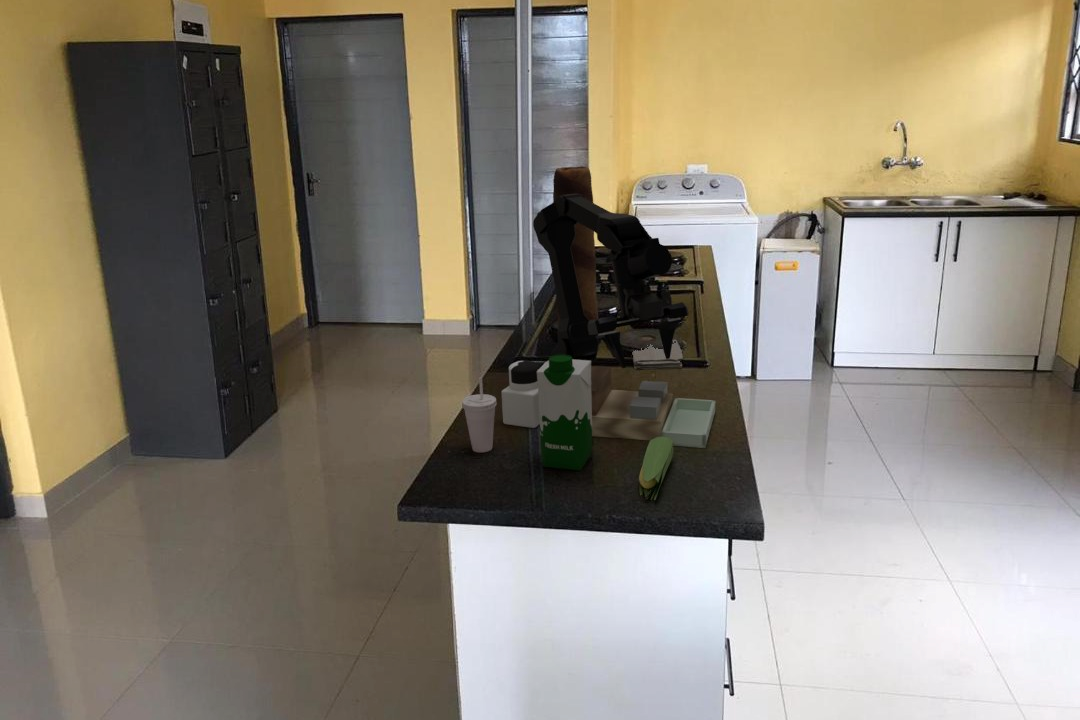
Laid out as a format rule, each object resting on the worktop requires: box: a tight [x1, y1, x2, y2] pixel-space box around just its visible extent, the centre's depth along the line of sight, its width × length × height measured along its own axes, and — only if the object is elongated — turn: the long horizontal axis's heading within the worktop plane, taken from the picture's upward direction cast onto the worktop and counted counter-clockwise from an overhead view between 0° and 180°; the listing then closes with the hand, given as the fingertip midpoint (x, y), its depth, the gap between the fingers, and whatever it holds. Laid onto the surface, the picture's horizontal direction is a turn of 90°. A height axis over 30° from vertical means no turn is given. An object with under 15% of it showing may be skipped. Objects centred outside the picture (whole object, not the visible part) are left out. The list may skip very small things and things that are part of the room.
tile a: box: [637, 380, 669, 403], centre depth 171 cm, size 5×5×2 cm
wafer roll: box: [552, 166, 599, 330], centre depth 210 cm, size 10×11×45 cm
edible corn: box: [638, 436, 674, 501], centre depth 146 cm, size 5×20×5 cm
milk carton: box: [537, 354, 593, 471], centre depth 152 cm, size 9×9×20 cm
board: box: [592, 389, 674, 441], centre depth 170 cm, size 17×15×4 cm
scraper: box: [591, 365, 612, 416], centre depth 170 cm, size 4×14×5 cm, turn 164°
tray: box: [662, 397, 716, 449], centre depth 166 cm, size 8×18×2 cm, turn 164°
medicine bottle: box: [500, 360, 540, 429], centre depth 172 cm, size 7×7×12 cm
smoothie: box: [461, 377, 497, 453], centre depth 159 cm, size 6×6×14 cm
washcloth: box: [631, 339, 684, 370], centre depth 208 cm, size 12×18×3 cm, turn 179°
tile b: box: [630, 396, 661, 420], centre depth 163 cm, size 5×5×2 cm
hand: (646, 363), depth 165 cm, fingers open, 9 cm apart
